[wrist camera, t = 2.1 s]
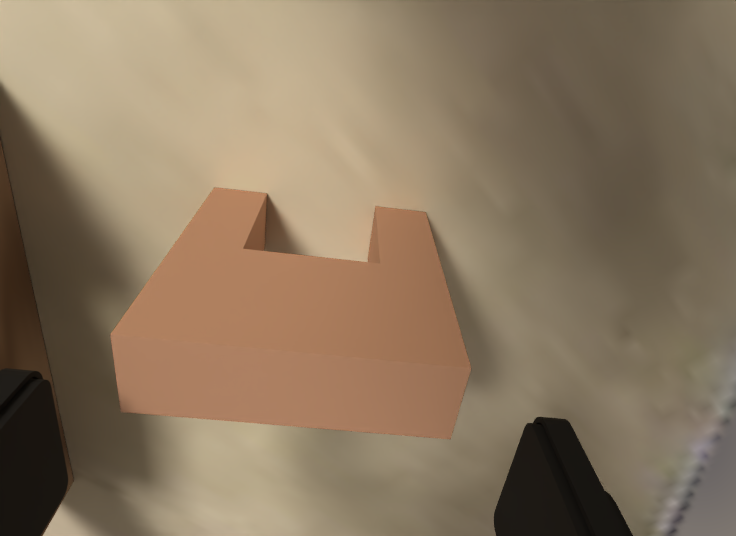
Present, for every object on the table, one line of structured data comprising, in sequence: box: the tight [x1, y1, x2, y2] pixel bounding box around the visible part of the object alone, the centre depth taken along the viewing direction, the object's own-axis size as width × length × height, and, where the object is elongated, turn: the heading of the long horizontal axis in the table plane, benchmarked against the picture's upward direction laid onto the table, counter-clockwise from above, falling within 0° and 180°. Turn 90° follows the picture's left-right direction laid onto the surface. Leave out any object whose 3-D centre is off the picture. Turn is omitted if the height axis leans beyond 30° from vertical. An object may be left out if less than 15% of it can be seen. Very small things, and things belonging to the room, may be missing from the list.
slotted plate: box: [110, 187, 471, 439], centre depth 14 cm, size 2×7×8 cm, turn 83°
